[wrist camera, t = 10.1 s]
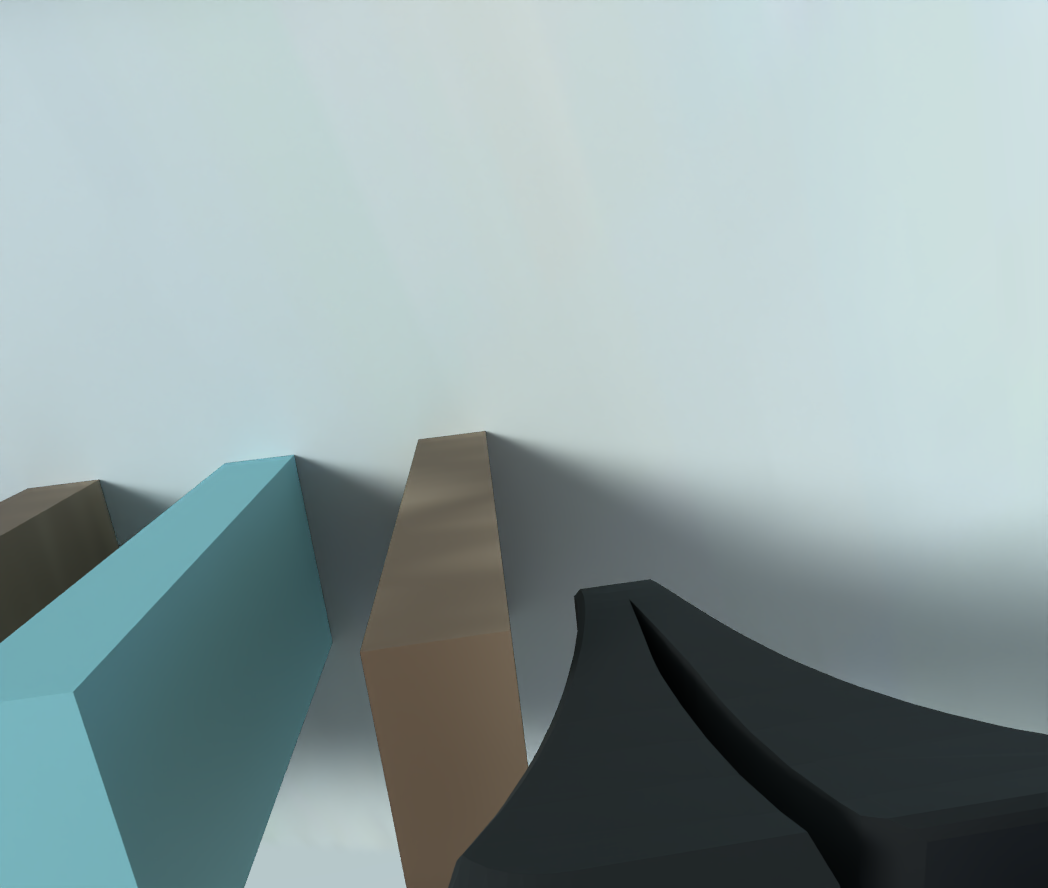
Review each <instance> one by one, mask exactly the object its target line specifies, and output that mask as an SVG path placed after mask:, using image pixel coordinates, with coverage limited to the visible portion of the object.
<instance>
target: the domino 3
mask: <svg viewBox="0 0 1048 888" xmlns="http://www.w3.org/2000/svg"><path fill="white" fill-rule="evenodd" d="M360 655H361V660H362V665H363V670H364V675H365V680H366V685H367V690H368V695H369V700H370V705H371V711H372V716H373V721H374V726H375V731H376V736H377V741H378V746H379V751H380V756H381V761H382V766H383V771H384V776H385V781H386V786H387V791H388V796H389V801H390V806H391V811H392V817H393V822H394V827H395V832H396V837H397V842H398V847H399V852H400V857H401V862H402V867H403V872H404V877H405V882H406V887H407V888H448V887H449V883H450V880H451V877H452V873H453V870H454V867H455V864H456V861H457V860H458V858H459V857H460V856H461V855H462V854H463V853H464V852H465V851H466V849H467V848H468V847H469V846H470V845H471V844H472V842H473V841H474V840H475V839H476V838H477V837H478V835H479V834H480V833H481V832H482V831H483V830H484V828H485V827H486V826H487V825H488V824H489V822H490V821H491V820H492V819H493V818H494V817H495V815H496V814H497V813H498V811H499V810H500V809H501V807H502V806H503V805H504V803H505V802H506V800H507V799H508V797H509V796H510V794H511V793H512V791H513V790H514V788H515V787H516V785H517V784H518V782H519V781H520V779H521V778H522V776H523V775H524V773H525V772H526V770H527V769H528V762H527V754H526V746H525V738H524V731H523V723H522V715H521V707H520V699H519V691H518V683H517V675H516V667H515V659H514V651H513V644H512V636H511V628H510V620H509V612H508V604H507V596H506V588H505V581H504V573H503V565H502V557H501V549H500V541H499V534H498V526H497V518H496V510H495V502H494V494H493V487H492V479H491V471H490V463H489V455H488V447H487V439H486V432H485V431H482V432H474V433H467V434H459V435H451V436H443V437H435V438H427V439H419V440H418V443H417V447H416V450H415V454H414V458H413V461H412V465H411V468H410V472H409V476H408V479H407V483H406V487H405V490H404V494H403V497H402V501H401V505H400V508H399V512H398V516H397V519H396V523H395V527H394V530H393V534H392V537H391V541H390V545H389V548H388V552H387V556H386V559H385V563H384V566H383V570H382V574H381V577H380V581H379V585H378V588H377V592H376V595H375V599H374V603H373V606H372V610H371V614H370V617H369V621H368V624H367V628H366V632H365V635H364V639H363V643H362V646H361V650H360Z"/></svg>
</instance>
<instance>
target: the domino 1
mask: <svg viewBox="0 0 1048 888" xmlns="http://www.w3.org/2000/svg"><path fill="white" fill-rule="evenodd" d="M118 548H119V546H118V543H117V539H116V536H115V533H114V529H113V526H112V522H111V519H110V516H109V512H108V509H107V505H106V502H105V499H104V495H103V492H102V488H101V485H100V482H99V480H92V481H84V482H76V483H68V484H60V485H52V486H44V487H36V488H28V489H26V490H24V491H22V492H20V493H18V494H16V495H14V496H12V497H10V498H8V499H6V500H4V501H2V502H0V643H1V642H2V641H4V640H5V639H6V638H7V637H9V636H10V635H11V634H12V633H14V632H15V631H16V630H17V629H19V628H20V627H21V626H22V625H24V624H25V623H26V622H27V621H29V620H30V619H31V618H32V617H34V616H35V615H36V614H37V613H39V612H40V611H41V610H42V609H44V608H45V607H46V606H47V605H49V604H50V603H51V602H52V601H54V600H55V599H56V598H57V597H59V596H60V595H61V594H62V593H64V592H65V591H66V590H67V589H69V588H70V587H71V586H72V585H74V584H75V583H76V582H77V581H79V580H80V579H81V578H82V577H84V576H85V575H86V574H87V573H89V572H90V571H91V570H92V569H94V568H95V567H96V566H97V565H98V564H100V563H101V562H102V561H103V560H105V559H106V558H107V557H108V556H110V555H111V554H112V553H113V552H115V551H116V550H117V549H118Z"/></svg>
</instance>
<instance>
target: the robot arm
mask: <svg viewBox="0 0 1048 888" xmlns="http://www.w3.org/2000/svg"><path fill="white" fill-rule="evenodd" d="M574 599H575V609H576V620H577V630H578V632H577V638H576V645H575V651H574V656H573V660H572V664H571V668H570V671H569V675H568V679H567V682H566V686H565V689H564V692H563V695H562V698H561V700H560V703H559V706H558V708H557V711H556V713H555V715H554V718H553V720H552V723H551V725H550V727H549V729H548V731H547V733H546V735H545V737H544V739H543V741H542V743H541V745H540V747H539V749H538V751H537V753H536V755H535V756H534V758H533V760H532V762H531V764H530V765H529V767H528V769H527V770H526V772H525V773H524V775H523V776H522V778H521V779H520V781H519V782H518V784H517V785H516V787H515V788H514V790H513V791H512V793H511V794H510V796H509V797H508V799H507V800H506V802H505V803H504V805H503V806H502V807H501V809H500V810H499V811H498V813H497V814H496V815H495V817H494V818H493V819H492V820H491V821H490V822H489V824H488V825H487V826H486V827H485V828H484V830H483V831H482V832H481V833H480V834H479V835H478V837H477V838H476V839H475V840H474V841H473V842H472V844H471V845H470V846H469V847H468V848H467V849H466V851H465V852H464V853H463V854H462V855H461V856H460V857H459V858H458V860H457V861H456V864H455V867H454V870H453V873H452V877H451V880H450V883H449V887H448V888H1048V735H1046V734H1040V733H1035V732H1029V731H1023V730H1017V729H1012V728H1007V727H1003V726H998V725H994V724H990V723H986V722H981V721H977V720H973V719H969V718H964V717H960V716H956V715H952V714H948V713H944V712H940V711H937V710H933V709H929V708H926V707H922V706H918V705H915V704H911V703H908V702H905V701H902V700H899V699H895V698H892V697H889V696H886V695H883V694H880V693H877V692H874V691H871V690H867V689H864V688H861V687H859V686H856V685H853V684H850V683H848V682H845V681H842V680H839V679H837V678H834V677H832V676H830V675H827V674H825V673H822V672H820V671H817V670H815V669H813V668H810V667H808V666H805V665H803V664H800V663H798V662H796V661H794V660H792V659H789V658H787V657H785V656H783V655H781V654H779V653H777V652H775V651H773V650H771V649H769V648H767V647H765V646H763V645H761V644H759V643H757V642H755V641H753V640H751V639H749V638H747V637H745V636H744V635H742V634H740V633H738V632H736V631H735V630H733V629H731V628H729V627H728V626H726V625H724V624H722V623H721V622H719V621H717V620H716V619H714V618H712V617H711V616H709V615H707V614H706V613H704V612H702V611H701V610H699V609H698V608H696V607H694V606H693V605H691V604H690V603H688V602H686V601H685V600H683V599H682V598H680V597H679V596H677V595H675V594H674V593H672V592H671V591H669V590H668V589H666V588H664V587H663V586H661V585H660V584H658V583H656V582H654V581H653V580H651V579H649V580H642V581H635V582H628V583H621V584H614V585H607V586H600V587H593V588H586V589H580V590H579V591H578V593H577V594H576V595H575V596H574Z"/></svg>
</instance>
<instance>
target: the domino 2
mask: <svg viewBox="0 0 1048 888" xmlns="http://www.w3.org/2000/svg"><path fill="white" fill-rule="evenodd" d="M331 645H332V637H331V632H330V627H329V623H328V618H327V613H326V608H325V603H324V598H323V593H322V589H321V584H320V579H319V574H318V569H317V564H316V559H315V554H314V550H313V545H312V540H311V535H310V530H309V525H308V520H307V516H306V511H305V506H304V501H303V496H302V491H301V486H300V481H299V477H298V472H297V467H296V462H295V457H294V455H289V456H281V457H273V458H265V459H256V460H248V461H240V462H232V463H225V464H223V465H222V466H221V467H220V468H218V469H217V470H216V471H215V472H213V473H212V474H211V475H210V476H208V477H207V478H206V479H205V480H203V481H202V482H201V483H200V484H198V485H197V486H196V487H195V488H193V489H192V490H191V491H190V492H188V493H187V494H186V495H185V496H183V497H182V498H181V499H180V500H178V501H177V502H176V503H175V504H173V505H172V506H171V507H170V508H168V509H167V510H166V511H165V512H163V513H162V514H161V515H160V516H158V517H157V518H156V519H155V520H153V521H152V522H151V523H150V524H148V525H147V526H146V527H145V528H143V529H142V530H141V531H140V532H138V533H137V534H136V535H135V536H133V537H132V538H131V539H130V540H128V541H127V542H126V543H125V544H123V545H122V546H121V547H120V548H118V549H117V550H116V551H115V552H113V553H112V554H111V555H110V556H108V557H107V558H106V559H105V560H103V561H102V562H101V563H100V564H98V565H97V566H96V567H95V568H94V569H92V570H91V571H90V572H89V573H87V574H86V575H85V576H84V577H82V578H81V579H80V580H79V581H77V582H76V583H75V584H74V585H72V586H71V587H70V588H69V589H67V590H66V591H65V592H64V593H62V594H61V595H60V596H59V597H57V598H56V599H55V600H54V601H52V602H51V603H50V604H49V605H47V606H46V607H45V608H44V609H42V610H41V611H40V612H39V613H37V614H36V615H35V616H34V617H32V618H31V619H30V620H29V621H27V622H26V623H25V624H24V625H22V626H21V627H20V628H19V629H17V630H16V631H15V632H14V633H12V634H11V635H10V636H9V637H7V638H6V639H5V640H4V641H2V642H1V643H0V888H244V886H245V883H246V881H247V878H248V875H249V872H250V870H251V867H252V864H253V861H254V858H255V856H256V853H257V850H258V848H259V845H260V842H261V839H262V836H263V834H264V831H265V828H266V825H267V823H268V820H269V817H270V814H271V811H272V809H273V806H274V803H275V800H276V798H277V795H278V792H279V789H280V786H281V784H282V781H283V778H284V775H285V773H286V770H287V767H288V764H289V761H290V759H291V756H292V753H293V750H294V748H295V745H296V742H297V739H298V736H299V734H300V731H301V728H302V725H303V723H304V720H305V717H306V714H307V711H308V709H309V706H310V703H311V700H312V698H313V695H314V692H315V689H316V686H317V684H318V681H319V678H320V675H321V673H322V670H323V667H324V664H325V661H326V659H327V656H328V653H329V650H330V648H331Z"/></svg>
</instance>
